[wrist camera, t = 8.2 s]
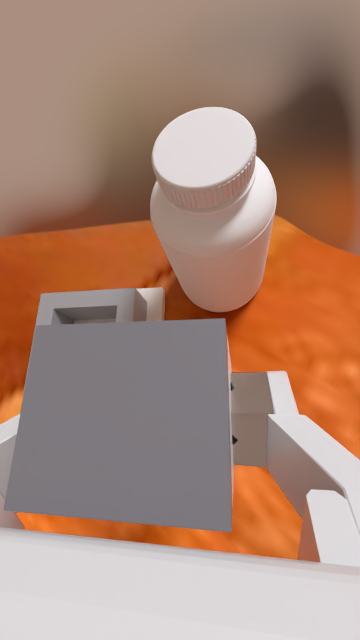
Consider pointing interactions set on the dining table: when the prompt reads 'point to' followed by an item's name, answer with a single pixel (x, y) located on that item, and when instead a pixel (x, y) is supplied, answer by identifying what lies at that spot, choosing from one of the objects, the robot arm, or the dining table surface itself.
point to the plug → (127, 424)
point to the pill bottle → (213, 206)
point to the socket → (101, 307)
